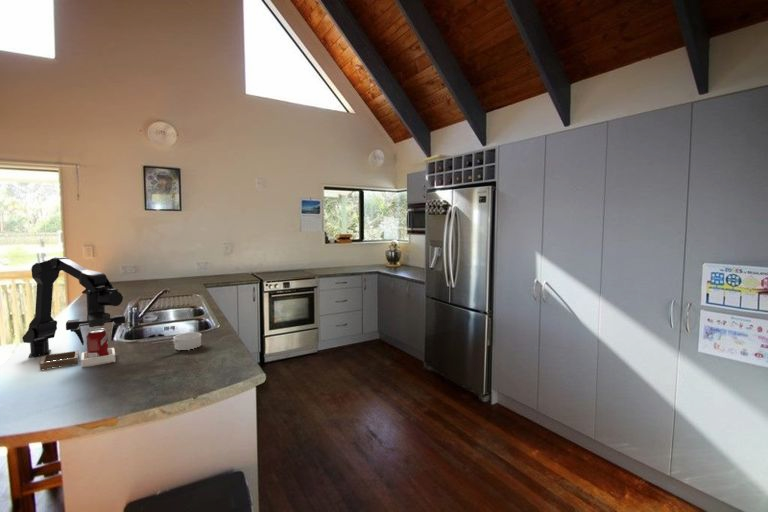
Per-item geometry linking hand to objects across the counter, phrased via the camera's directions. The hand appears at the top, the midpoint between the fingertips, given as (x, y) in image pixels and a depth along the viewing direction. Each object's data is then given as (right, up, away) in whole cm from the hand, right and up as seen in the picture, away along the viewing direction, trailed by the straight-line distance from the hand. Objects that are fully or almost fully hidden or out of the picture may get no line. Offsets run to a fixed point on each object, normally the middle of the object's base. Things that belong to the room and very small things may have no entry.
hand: (97, 342), depth 148 cm
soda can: (0, -7, 0) cm, 7 cm away
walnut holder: (-13, -8, -2) cm, 15 cm away
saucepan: (+24, -7, +15) cm, 29 cm away
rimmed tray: (0, -8, +1) cm, 8 cm away
